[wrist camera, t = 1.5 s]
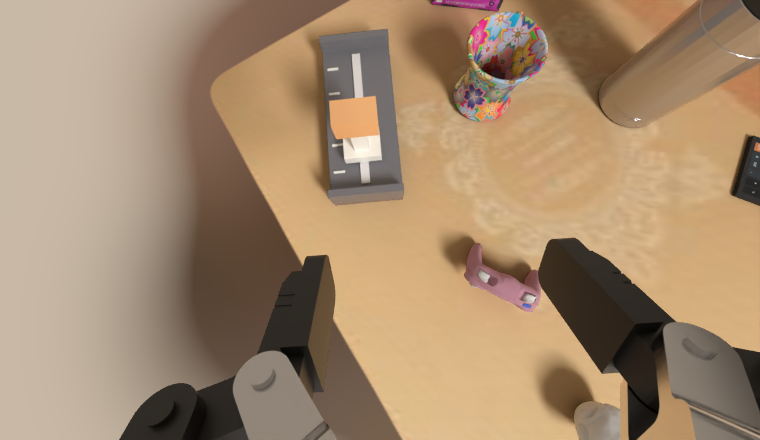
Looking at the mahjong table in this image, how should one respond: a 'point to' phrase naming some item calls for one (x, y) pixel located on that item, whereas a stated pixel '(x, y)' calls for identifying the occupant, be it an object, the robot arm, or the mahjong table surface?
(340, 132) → the fader knob
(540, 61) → the mug
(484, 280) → the pink toy animal figure
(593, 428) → the grey lumpy stone
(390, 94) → the fader console
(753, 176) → the calculator
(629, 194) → the mahjong table surface
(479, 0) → the candy bar box
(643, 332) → the robot arm
